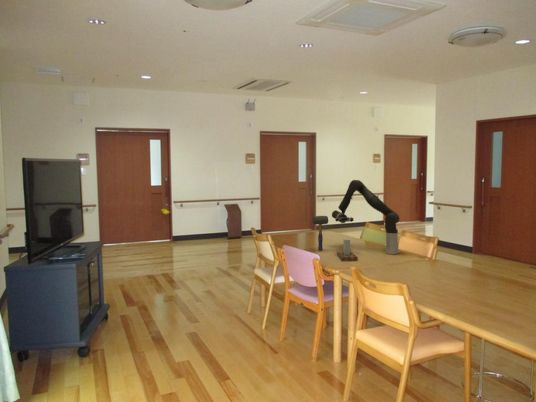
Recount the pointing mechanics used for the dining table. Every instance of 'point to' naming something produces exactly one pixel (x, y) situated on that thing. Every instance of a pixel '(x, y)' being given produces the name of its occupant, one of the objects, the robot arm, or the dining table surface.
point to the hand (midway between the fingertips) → (346, 220)
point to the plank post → (346, 246)
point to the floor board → (347, 256)
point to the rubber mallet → (320, 228)
